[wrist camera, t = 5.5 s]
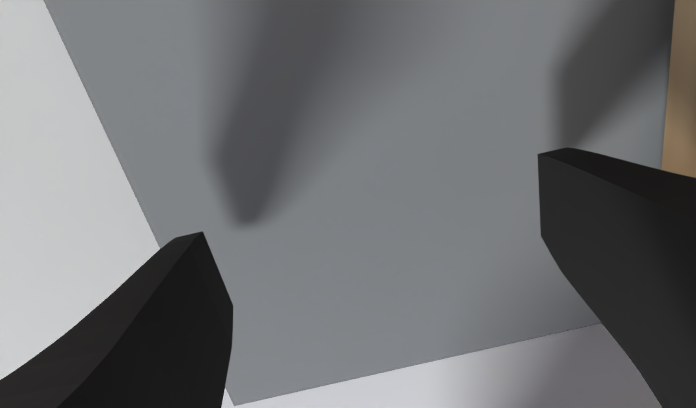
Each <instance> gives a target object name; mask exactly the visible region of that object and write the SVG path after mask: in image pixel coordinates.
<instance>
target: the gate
mask: <svg viewBox="0 0 696 408" xmlns="http://www.w3.org/2000/svg"><path fill="white" fill-rule="evenodd" d="M661 170H664V171H668V172H672V173H676V174H680V175H685V176H689V177H694V178H696V0H675V7H674V19H673V31H672V44H671V56H670V69H669V81H668V93H667V106H666V118H665V130H664V143H663V155H662V167H661Z"/></svg>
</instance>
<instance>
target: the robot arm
mask: <svg viewBox="0 0 696 408" xmlns="http://www.w3.org/2000/svg"><path fill="white" fill-rule="evenodd" d="M538 179H539V204H540V229H541V237H542V239H543V241H544V243H545V244H546V246H547V248H548V250H549V252H550V253H551V255H552V257H553V259H554V260H555V262H556V264H557V265H558V267H559V269H560V270H561V272H562V273H563V275H564V276H565V277H566V278H567V280H568V281H569V282H570V284H571V285H572V286H573V287H574V289H575V290H576V291H577V292H578V294H579V295H580V296H581V298H582V299H583V300H584V301H585V303H586V304H587V305H588V306H589V308H590V309H591V310H592V311H593V312H594V314H595V315H596V316H597V317H598V319H599V320H600V321H601V322H602V324H603V325H604V326H605V327H606V329H607V330H608V331H609V332H610V334H611V335H612V336H613V337H614V339H615V340H616V341H617V342H618V344H619V345H620V346H621V347H622V348H623V350H624V351H625V352H626V354H627V355H628V356H629V358H630V359H631V360H632V362H633V363H634V365H635V366H636V367H637V369H638V370H639V371H640V373H641V375H642V376H643V378H644V379H645V381H646V382H647V384H648V385H649V387H650V389H651V390H652V392H653V393H654V395H655V396H656V398H657V400H658V401H659V403H660V404H661V406H662V407H663V408H696V178H694V177H689V176H685V175H680V174H676V173H672V172H668V171H664V170H660V169H656V168H652V167H648V166H644V165H640V164H636V163H633V162H629V161H625V160H621V159H618V158H614V157H610V156H606V155H602V154H598V153H594V152H590V151H586V150H581V149H576V148H568V147H566V148H561V149H557V150H553V151H548V152H544V153H540V154H538ZM232 337H233V304H232V301H231V299H230V296H229V294H228V291H227V289H226V287H225V284H224V282H223V279H222V277H221V274H220V272H219V269H218V267H217V265H216V262H215V260H214V257H213V255H212V252H211V250H210V247H209V245H208V243H207V240H206V238H205V235H204V233H203V231H201V232H197V233H193V234H188V235H184V236H180V237H175V238H174V239H172V240H171V241H170V242H168V243H167V244H166V245H165V246H163V247H162V248H161V249H160V250H159V251H158V252H157V253H155V254H154V255H153V256H152V257H151V258H150V259H149V260H148V261H147V262H146V263H145V264H144V265H142V266H141V267H140V268H139V269H138V270H137V271H136V272H135V273H134V274H133V275H132V276H131V277H130V278H129V279H127V280H126V281H125V282H124V283H123V284H122V285H121V286H120V287H119V288H118V289H117V290H116V291H115V292H113V293H112V294H111V295H110V296H109V297H108V298H107V299H105V300H104V301H103V302H102V303H101V304H100V305H99V306H97V307H96V308H95V309H94V310H93V311H92V312H90V313H89V314H88V315H87V316H86V317H85V318H83V319H82V320H81V321H80V322H79V323H78V324H77V325H75V326H74V327H73V328H72V329H70V330H69V331H68V332H67V333H65V334H64V335H63V336H62V337H60V338H59V339H58V340H56V341H55V342H54V343H53V344H51V345H50V346H49V347H47V348H46V349H45V350H43V351H42V352H40V353H39V354H38V355H36V356H35V357H34V358H32V359H31V360H29V361H28V362H27V363H25V364H24V365H22V366H21V367H20V368H18V369H17V370H15V371H14V372H12V373H11V374H9V375H8V376H6V377H4V378H3V379H1V380H0V408H221V405H222V400H223V395H224V389H225V384H226V378H227V373H228V367H229V361H230V356H231V350H232Z"/></svg>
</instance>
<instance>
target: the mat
mask: <svg viewBox="0 0 696 408" xmlns="http://www.w3.org/2000/svg"><path fill="white" fill-rule="evenodd" d="M44 2H45V4H46V6H47V9H48V11H49V13H50V15H51V17H52V19H53V21H54V24H55V26H56V28H57V30H58V32H59V34H60V36H61V38H62V41H63V43H64V45H65V47H66V49H67V51H68V53H69V55H70V58H71V60H72V62H73V64H74V66H75V68H76V70H77V72H78V75H79V77H80V79H81V81H82V83H83V85H84V87H85V90H86V92H87V94H88V96H89V98H90V100H91V102H92V104H93V107H94V109H95V111H96V113H97V115H98V117H99V119H100V121H101V124H102V126H103V128H104V130H105V132H106V134H107V136H108V138H109V141H110V143H111V145H112V147H113V149H114V151H115V153H116V156H117V158H118V160H119V162H120V164H121V166H122V168H123V170H124V173H125V175H126V177H127V179H128V181H129V183H130V185H131V187H132V190H133V192H134V194H135V196H136V198H137V200H138V202H139V204H140V207H141V209H142V211H143V213H144V215H145V217H146V219H147V222H148V224H149V226H150V228H151V230H152V232H153V234H154V236H155V239H156V241H157V243H158V245H159V247H160V249H161V248H162V247H163V246H165V245H166V244H167V243H168V242H170V241H171V240H172V239H174V238H175V237H180V236H184V235H188V234H193V233H197V232H201V231H203V233H204V235H205V238H206V240H207V243H208V245H209V247H210V250H211V252H212V255H213V257H214V260H215V262H216V265H217V267H218V269H219V272H220V274H221V277H222V279H223V282H224V284H225V287H226V289H227V291H228V294H229V296H230V299H231V301H232V304H233V337H232V350H231V356H230V361H229V367H228V373H227V378H226V384H225V388H226V390H227V392H228V394H229V396H230V398H231V400H232V402H233V405H234V406H236V405H241V404H245V403H250V402H254V401H258V400H263V399H267V398H272V397H276V396H281V395H285V394H289V393H294V392H298V391H303V390H307V389H312V388H316V387H320V386H325V385H329V384H334V383H338V382H343V381H347V380H351V379H356V378H360V377H365V376H369V375H374V374H378V373H382V372H387V371H391V370H396V369H400V368H405V367H409V366H413V365H418V364H422V363H427V362H431V361H436V360H440V359H444V358H449V357H453V356H458V355H462V354H467V353H471V352H475V351H480V350H484V349H489V348H493V347H498V346H502V345H506V344H511V343H515V342H520V341H524V340H529V339H533V338H537V337H542V336H546V335H551V334H555V333H560V332H564V331H568V330H573V329H577V328H582V327H586V326H591V325H595V324H599V323H602V322H601V321H600V320H599V319H598V317H597V316H596V315H595V314H594V312H593V311H592V310H591V309H590V308H589V306H588V305H587V304H586V303H585V301H584V300H583V299H582V298H581V296H580V295H579V294H578V292H577V291H576V290H575V289H574V287H573V286H572V285H571V284H570V282H569V281H568V280H567V278H566V277H565V276H564V275H563V273H562V272H561V270H560V269H559V267H558V265H557V264H556V262H555V260H554V259H553V257H552V255H551V253H550V252H549V250H548V248H547V246H546V244H545V243H544V241H543V239H542V237H541V229H540V204H539V179H538V154H540V153H544V152H548V151H553V150H557V149H561V148H566V147H568V148H576V149H581V150H586V151H590V152H594V153H598V154H602V155H606V156H610V157H614V158H618V159H621V160H625V161H629V162H633V163H636V164H640V165H644V166H648V167H652V168H656V169H660V170H661V167H662V155H663V143H664V130H665V118H666V106H667V93H668V81H669V69H670V56H671V44H672V31H673V19H674V7H675V0H44Z"/></svg>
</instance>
